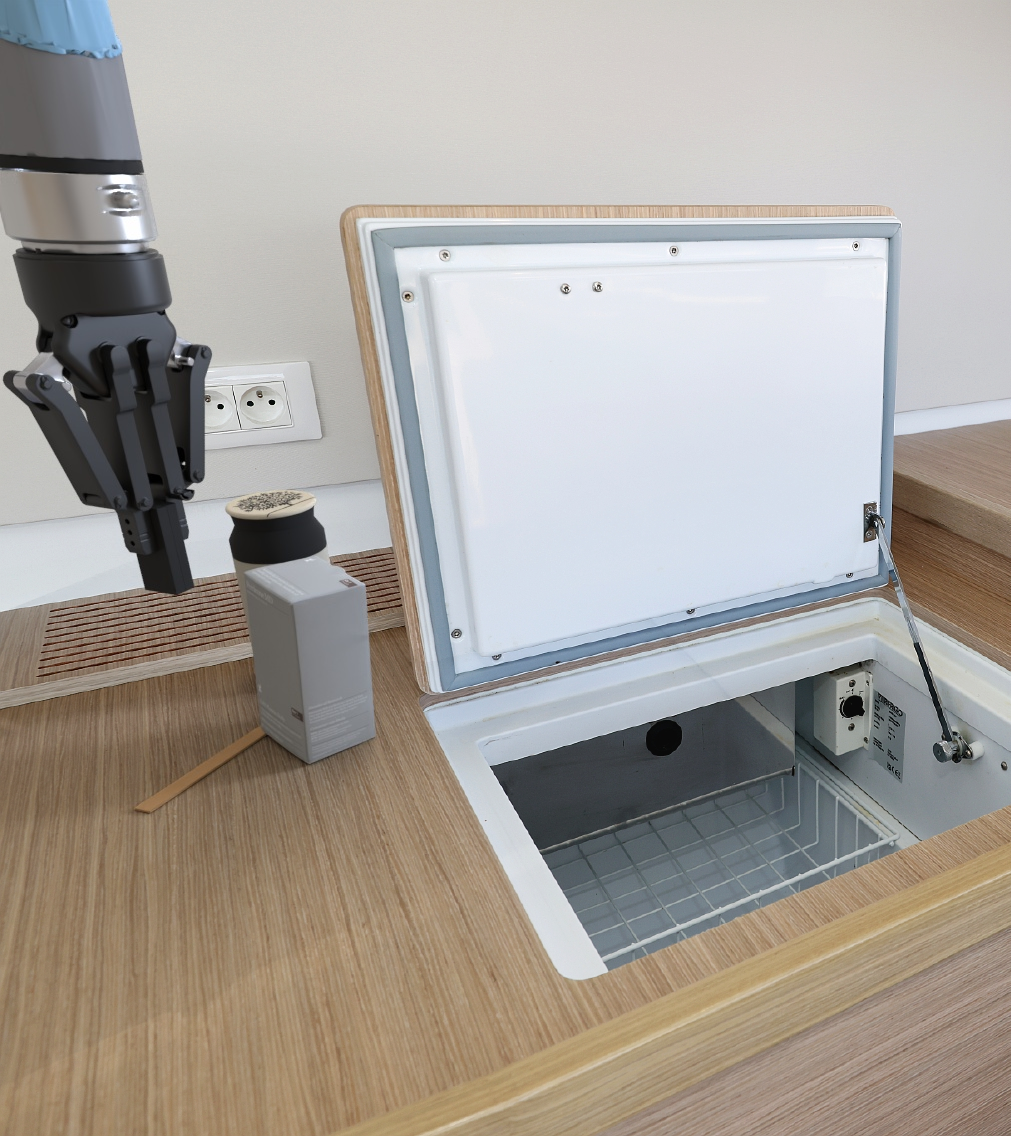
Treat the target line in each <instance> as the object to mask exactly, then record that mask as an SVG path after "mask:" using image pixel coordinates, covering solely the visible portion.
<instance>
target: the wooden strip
mask: <svg viewBox="0 0 1011 1136" xmlns="http://www.w3.org/2000/svg"><path fill="white" fill-rule="evenodd" d="M266 736H268V735H267V734H266V733H265V732H263V731H262V728H261V724H259V725H258V726H257V727H255V728H254V729H252V730H251V731H249V732H248V733H246V734H245V735H243V736H242V737H240V738H238V739H237V740H235V741H233V743H231V744H229V745H227V747H225V748H223V749H222V750H220V751H219V752H217V753H216V754H214V755H212V756H211V757H210V758H208V759H207V760H205V761H204V762H202V763H201V764H199V765H197V766H196V767H194V768H193V769H191V770H190V771H188V772H186V773H185V774H184V775H182V776H180V777H179V778H178V779H176V780H174V781H173V782H172V783H169V784H168V785H166V786H165V787H164V788H162V789H161V790H159V791H158V792H156V793H155V794H153V795H152V796H150V797H148V798H147V799H145V800H144V801H142V802H140V803H138V805H136V806H135V807H134V808H133V809H134V811H137V812H143V813H146V814H152V813H154V812H155V811H156V810H158V809H159V808H160V807H162V806H164V805H165V804H167V803H168V802H169V801H171V800H173V799H174V798H175V797H177V796H178V795H180V794H181V793H183V792H184V791H186V790H187V789H188V788H190V787H192V786H193V785H195V784H196V783H198V782H200V781H201V780H203V779H204V778H205V777H206V776H208V775H209V774H212V773H213V772H214V771H216V770H217V769H219V768H220V767H221V766H223V765H224V764H226V763H227V762H229V761H230V760H232V759H234V758H235V757H237V756H238V755H239V754H241V753H242V752H244V751H245V750H247V749H248V748H250V747H251V746H252V745H254V744H255V743H257V742H258V741H261V740H262V739H263V738H265V737H266Z"/></svg>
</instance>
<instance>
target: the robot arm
mask: <svg viewBox="0 0 1011 1136" xmlns="http://www.w3.org/2000/svg"><path fill="white" fill-rule="evenodd" d="M133 109H134V108H133V103H132V99H131V95H130V89H129V84H128V78H127V74H126V69H125V62H124V59H123V45H122V41H121V39H120V38H119V37H118V35H117V34H116V30H115V26H114V22H113V18H112V16H111V11H110V6H109V3H108V0H0V217H1V221H2V225H3V230H4V233H5V235H6V236H7V237H9V238H10V239H11V240H14V241H18V242H20V244H21V246H22V247H19V248H17V249H15V253H13V254H12V259H13V263H14V267H15V271H16V274H17V278H18V282H19V285H20V289H21V292H22V293H21V294H22V296H23V300H24V303H25V305H26V306H27V308H28V309H29V310H30V311H31V312H32V314H33V315H34V316H35V318H36V320H37V325H38V327H37V335H36V339H35V346H36V347H35V348H36V351H37V352H38V354H37V356H36V357H35V358H34V359H32V361H30V363H29V364H27V366H26V367H25V368H23V370H15V369H11V370H7V371H5V372H4V374H3V375H2V382H3V385H4V386H5V388H7V389H8V390H9V391H10V392H11V393H12V394H13V395H14V396H15V397H16V398H18V399H19V400H20V401H21V402H22V403H23V404H24V405H26V406H27V407H28V409H29V411H30V412H31V414H32V416H33V418H34V420H35V421H36V423H37V425H38V427H39V429H40V430H41V432H42V435H43V436H44V438H45V439H46V441H47V443H48V445H49V447H50V449H51V450H52V453H53V454H54V456H55V457H56V459H57V461H58V463H59V464H60V466H61V468H62V470H63V472H64V474H65V476H66V477H67V479H68V481H69V483H70V484H71V486H72V488H73V490H74V492H75V494H76V495H77V497H78V499H79V501H80V502H81V503H82V504H83V505H85V506H88V507H93V508H101V509H107V510H113V511H115V513H116V515H117V519H118V523H119V527H120V531H121V535H122V538H123V543H124V546H125V548H126V550H128V552H129V553H131V554H135V555H136V559H137V563H138V567H139V571H140V575H141V579H142V583H143V586H144V590H145V591H150V592H156V593H162V594H166V595H173V596H179V595H181V594H183V593H185V592H188V591H190V590H192V589H194V588H195V584H194V578H193V575H192V570H191V566H190V561H189V557H188V552H187V548H186V544H185V540H188V539H189V535H190V529H189V524H188V520H187V516H186V510H185V506H184V502H188V501H191V500H192V499H194V497H195V493H196V491H195V489H191V488H190V486H191V485H193V484H202V482H203V481H204V479H205V476H206V377H207V373H208V370H209V367H210V364H211V362H212V357H213V350H212V349H211V347H210V346H208V345H206V344H201V343H192V342H190V341H188V340H186V339H184V338H182V337H181V336H179V335H178V334H177V333H178V332H177V329H176V327H175V324H174V323H173V322H172V321H171V319H170V318H169V316H168V314H167V312H166V310H167V309H169V308H170V307H171V306H172V303H173V296H172V292H171V288H170V282H169V278H168V273H167V268H166V263H165V258H164V255H163V254H162V253H160V252H159V250H158V249H156V248H152V247H150V246H149V242H154V241H155V240H156V239H157V238H158V236H159V232H158V228H157V222H156V219H155V218H156V217H155V213H154V209H153V205H152V200H151V195H150V189H149V185H148V180H147V176H146V173H145V168H144V164H143V155H142V150H141V146H140V141H139V136H138V135H139V134H138V129H137V125H136V120H135V115H134V110H133ZM71 390H72V391H73V394H74V396H72V395H71V393H70V392H71ZM83 412H84V413H85V414H84V413H83Z"/></svg>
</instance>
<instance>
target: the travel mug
mask: <svg viewBox="0 0 1011 1136" xmlns="http://www.w3.org/2000/svg"><path fill="white" fill-rule="evenodd" d="M316 504H317V498H316V496H315V495H314V494H312V493H310V492H307V491H304V490H303V491H301V490H296V489H277V490H275V489H274V490H268V491H267V490H265V491H259V492H258V491H257V492H253V493H249V494H246V495H242V496H239V497H236V498H234V499H233V500H230V501H229V502H228V503H227V504H226V505H225V506H224V507H225V508H224V511H225V512H226V514H227V515H229V516H230V518H231V521H232V523H233V528H232V531H231V532H230V535H229V538H228V543H229V548H230V551H231V552H230V553H231V556H232V557H231V558H232V561H233V566H234V571H235V576H236V580H237V584H238V589H239V594H240V598H241V602H242V607H243V613H244V618H245V621H246V626H247V627H246V628H247V631H248V635H249V640H250V644H251V645H250V646H252V640H251V631H250V622H249V613H248V605H247V596H246V587H245V579H244V574H243V573H244V572H246V571H249V570H252V569H256V568H260V567H265V566H270V565H275V564H280V563H285V562H289V561H294V560H299V559H303V558H307V557H312V556H317V557H319V558H321V559H322V560H324V561H326V562H327V563H329V564H331V558H330V553H329V548H328V543H327V537H326V529H325V527H324V525H323V524H322V523H321V522H320V521H319V520H318V518H316V516H315V505H316ZM251 650H252V651H253V649H252V648H251Z"/></svg>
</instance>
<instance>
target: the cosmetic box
mask: <svg viewBox="0 0 1011 1136" xmlns="http://www.w3.org/2000/svg"><path fill="white" fill-rule="evenodd" d="M243 574H244V579H245V587H246V596H247V605H248V613H249V622H250V631H251V640H252V645H251V650H252V649H253V650H252V657H253V667H254V676H255V684H256V685H255V686H256V694H257V703H258V711H259V721H260V722H259V723H260V725H261V728H262V731H263V732H265V733H266V734H267V735H266V736H269V737H270V738H271V739H273V740H274V741H275V742H276V743H278V744H279V745H280V746H281V747H283V748H285V749H286V750H287V751H288V752H289V753H291V754H293V755H294V756H295V757H297V758H298V759H300V760H301V761H303V762H304V763H306V764H308V765H310V764H312V763H315V762H317V761H320V760H322V759H325V758H327V757H329V756H331V755H334V754H337V753H340V752H341V751H345V750H347V749H350V748H352V747H355V746H357V745H359V744H362V743H364V742H366V741H368V740H372V739H373V738H375V737H376V736H377V733H376V722H375V710H374V693H373V691H374V690H373V679H372V664H371V651H370V633H369V621H368V604H367V602H368V601H367V589H366V584H365V583H364V582H362V581H360V580H358V579H357V578H356V577H355V578H354V577H353V576H352V575H349V574H347V573H346V570H345V569H344V568H343V567H342V566H338V565H332V564H331V563H330V564H329V563H327V562H326V561H324V560H322V559H321V558H319V557H317V556H312V557H307V558H303V559H299V560H294V561H289V562H285V563H280V564H275V565H270V566H265V567H260V568H256V569H252V570H249V571H246V572H244V573H243ZM251 640H250V641H251Z"/></svg>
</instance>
